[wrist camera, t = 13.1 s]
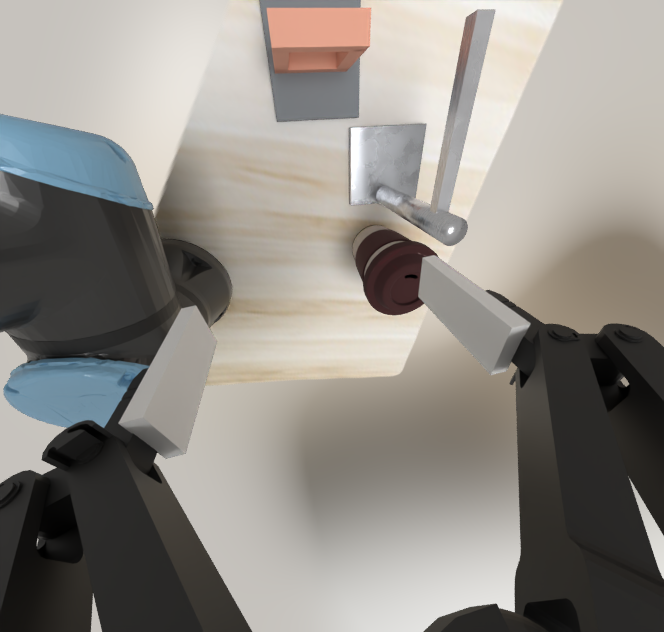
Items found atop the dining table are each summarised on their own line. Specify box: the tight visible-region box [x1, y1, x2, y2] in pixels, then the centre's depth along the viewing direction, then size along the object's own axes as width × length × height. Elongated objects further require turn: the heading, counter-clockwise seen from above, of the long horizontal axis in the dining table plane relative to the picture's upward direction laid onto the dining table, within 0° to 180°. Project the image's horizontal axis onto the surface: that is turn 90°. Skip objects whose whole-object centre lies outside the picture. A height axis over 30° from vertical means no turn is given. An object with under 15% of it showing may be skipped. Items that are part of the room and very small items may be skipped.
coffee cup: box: [353, 225, 439, 315], centre depth 34 cm, size 10×10×15 cm
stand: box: [349, 10, 495, 246], centre depth 25 cm, size 10×14×19 cm
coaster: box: [260, 0, 361, 122], centre depth 26 cm, size 10×10×1 cm
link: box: [267, 8, 371, 74], centre depth 22 cm, size 8×2×9 cm, turn 93°
